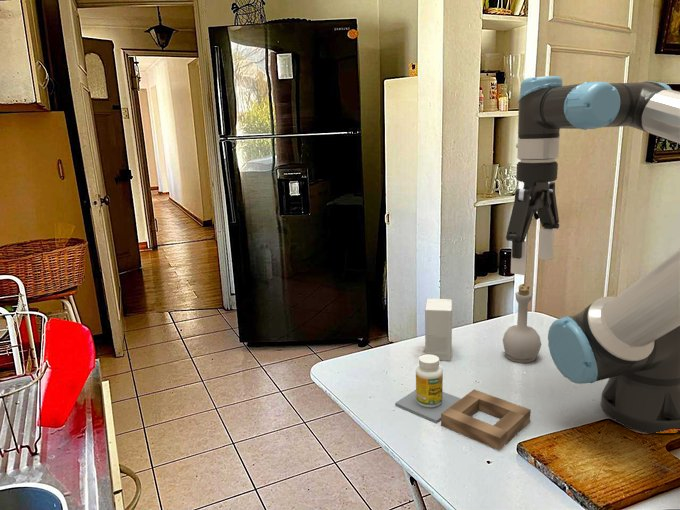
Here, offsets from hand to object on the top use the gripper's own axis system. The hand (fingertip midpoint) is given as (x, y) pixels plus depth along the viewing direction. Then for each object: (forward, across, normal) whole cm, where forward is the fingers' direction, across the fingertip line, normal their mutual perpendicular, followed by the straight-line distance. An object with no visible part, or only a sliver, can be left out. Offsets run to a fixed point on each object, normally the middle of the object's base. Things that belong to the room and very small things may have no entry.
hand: (532, 266), depth 107 cm
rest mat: (+26, +20, -12) cm, 35 cm away
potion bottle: (+27, -12, -7) cm, 30 cm away
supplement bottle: (+26, +20, -12) cm, 35 cm away
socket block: (+27, +19, 0) cm, 33 cm away
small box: (+26, -2, -23) cm, 35 cm away
